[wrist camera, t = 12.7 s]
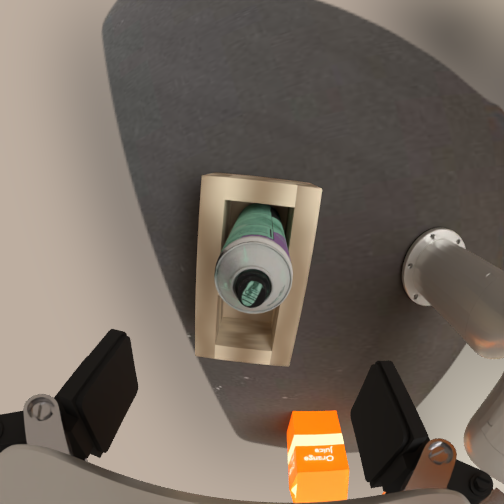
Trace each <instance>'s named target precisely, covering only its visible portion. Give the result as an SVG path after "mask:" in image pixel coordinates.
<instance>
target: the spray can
mask: <svg viewBox="0 0 504 504" xmlns="http://www.w3.org/2000/svg"><path fill="white" fill-rule="evenodd" d="M214 279H215V286H216V289H217V291H218V293H219V295H220V297H221V298H222V299H223V301H224V302H226V303H227V304H228V305H229V306H230V307H232V308H234V309H235V310H238V311H240V312H244V313H248V314H259V313H264V312H268V311H270V310H272V309H274V308H276V307H277V306H279V305H280V304H281V303H282V302H283V301H284V300H285V299H286V297H287V296H288V294H289V292H290V289H291V286H292V279H293V270H292V264H291V260H290V255H289V251H288V247H287V243H286V239H285V234H284V230H283V226H282V222H281V218H280V216H279V214H278V212H277V211H276V210H275V208H274V207H272V206H271V205H269V204H261V203H252V204H249V205H248V206H246V207H245V208H244V209H243V210H242V211H241V213H240V214H239V216H238V218H237V220H236V222H235V225H234V227H233V229H232V231H231V233H230V235H229V237H228V239H227V241H226V243H225V245H224V247H223V249H222V251H221V253H220V255H219V258H218V260H217V262H216V267H215V274H214Z"/></svg>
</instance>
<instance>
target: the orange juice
mask: <svg viewBox="0 0 504 504" xmlns="http://www.w3.org/2000/svg"><path fill="white" fill-rule="evenodd" d="M287 447H288V468H289V490H290V492H291V496H292V499H293V503H310V502H327V501H339V500H347V493H348V481H349V466H348V461H347V457H346V452H345V447H344V441H343V437H342V433H341V429H340V425H339V420H338V416H337V412H336V411H293V412H292V416H291V419H290V423H289V426H288V430H287Z"/></svg>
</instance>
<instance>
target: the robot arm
mask: <svg viewBox="0 0 504 504" xmlns="http://www.w3.org/2000/svg"><path fill="white" fill-rule="evenodd" d="M408 264H409V265H408ZM402 283H403V287H404V290H405V292H406V293H407V295H408V296H409V297H410V298H411V300H412V301H414V302H415V303H417V304H419V305H423V306H431V305H432V306H433V307H434V308H435V309H436V310H437V312H438V313H439V314H440V315H441V316H442V317H443V318H444V319H445V320H446V321H447V322H448V323H449V324H450V325H451V326H452V327H453V328H454V329H455V331H456V332H457V333H458V334H459V335H460V336H461V337H462V338H463V339H464V340H465V342H466V343H467V344H468V345H469V346H470V347H471V348H472V349H473V350H474V351H475V352H476V353H477V354H478V355H480V356H481V357H484V358H487V359H500V358H504V271H502V270H501V269H499V268H497V267H496V266H494V265H492V264H491V263H489V262H487V261H486V260H484V259H482V258H480V257H479V256H477V255H475V254H473V253H472V252H470V251H468V250H466V248H465V245H464V243H463V241H462V239H461V238H460V236H459V235H458V234H457V233H455V232H454V231H452V230H450V229H447V228H442V227H441V228H434V229H430V230H428V231H427V232H425V233H423V234H422V235H421V236H420V237H418V238H417V239H416V241H415V242H414V243H413V244H412V246H411V247H410V249H409V250H408V253H407V255H406V257H405V260H404V263H403V268H402ZM137 390H138V382H137V377H136V372H135V366H134V361H133V354H132V348H131V342H130V338H129V337H128V336H127V335H126V333H125V332H123V331H119V330H114V329H111V330H110V331H109V332H108V333H107V334H106V336H104V338H103V339H102V340H101V341H100V342H99V344H98V345H97V346H96V347H95V349H94V350H93V351H92V352H91V353H90V355H89V356H87V357H86V358H85V360H84V361H83V362H82V363H81V365H80V366H79V367H78V368H77V369H76V371H75V372H74V373H73V374H72V376H71V377H70V378H69V380H68V381H67V382H66V383H65V384H64V386H63V387H62V388H61V390H60V391H59V392H58V394H57V395H56V396H55V397H54V398H53V397H51V396H49V395H46V394H38V395H35V396H32V397H31V398H29V399H28V401H26V403H25V405H24V410H23V411H20V412H14V413H8V414H2V415H0V504H504V493H503V492H501V491H500V490H499V489H498V488H495V489H494V490H493V481H492V479H491V477H493V478H495V479H496V480H498V481H500V482H502V483H503V484H504V372H503V374H502V376H501V378H500V379H499V381H498V382H497V384H496V385H495V387H494V388H493V390H492V391H491V392H490V394H489V395H488V396H487V398H486V399H485V401H484V402H483V403H482V404H481V406H480V408H479V409H478V410H477V411H476V413H475V414H474V415H473V417H472V418H471V420H470V421H469V423H468V425H467V427H466V430H465V433H464V446H465V449H466V452H467V454H468V456H469V457H470V459H471V460H472V461H473V463H474V464H475V465H476V466H477V467H479V468H480V469H481V470H479V469H477V468H474V467H472V466H470V465H468V464H465V463H463V462H461V461H459V460H457V459H456V456H457V453H456V449H455V448H454V446H453V445H452V444H451V443H450V442H449V441H447V440H444V439H440V438H438V439H433V440H430V439H429V437H428V434H427V432H426V430H425V427H424V425H423V423H422V421H421V419H420V417H419V414H418V412H417V410H416V408H415V406H414V404H413V402H412V400H411V398H410V396H409V394H408V392H407V390H406V388H405V386H404V384H403V382H402V380H401V378H400V376H399V374H398V372H397V370H396V368H395V366H394V364H393V363H392V361H377V362H376V363H375V364H373V365H372V366H371V368H370V370H369V372H368V375H367V377H366V379H365V381H364V384H363V386H362V388H361V390H360V392H359V395H358V397H357V399H356V401H355V403H354V405H353V407H352V409H351V420H352V424H353V428H354V432H355V436H356V440H357V445H358V449H359V453H360V457H361V462H362V466H363V470H364V475H365V479H366V481H367V482H370V486H371V488H375V487H381V486H382V487H383V491H384V492H383V494H382V495H378V496H371V497H364V498H357V499H348V500H339V501H327V502H310V503H270V502H269V503H268V502H252V501H240V500H231V499H223V498H216V497H209V496H202V495H197V494H192V493H187V492H182V491H178V490H173V489H169V488H165V487H161V486H157V485H153V484H150V483H146V482H143V481H139V480H136V479H133V478H130V477H127V476H124V475H121V474H118V473H115V472H112V471H109V470H106V469H104V468H101V467H99V466H96V465H94V464H91V463H89V462H88V461H87V458H88V456H89V455H90V454H92V455H94V456H97V457H99V458H100V457H101V455H102V453H103V452H104V453H106V452H107V451H108V449H109V447H110V445H111V443H112V441H113V439H114V437H115V435H116V433H117V431H118V429H119V427H120V425H121V423H122V421H123V419H124V417H125V415H126V413H127V411H128V409H129V407H130V405H131V403H132V401H133V399H134V398H135V396H136V393H137ZM490 476H491V477H490Z"/></svg>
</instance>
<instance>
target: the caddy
mask: <svg viewBox="0 0 504 504" xmlns="http://www.w3.org/2000/svg"><path fill="white" fill-rule="evenodd" d="M321 194H322V188H319V187H317V186H315V185H313V184H311V183H306V182H299V181H292V180H284V179H276V178H267V177H258V176H249V175H239V174H228V173H216V172H215V173H211V174H206V175H202V182H201V195H200V210H199V226H198V245H197V268H196V304H195V356H200V357H207V358H214V359H221V360H228V361H237V362H245V363H255V364H265V365H277V366H289V364H290V360H291V356H292V351H293V347H294V342H295V338H296V333H297V329H298V324H299V319H300V315H301V310H302V305H303V300H304V295H305V290H306V285H307V279H308V274H309V268H310V263H311V257H312V252H313V246H314V240H315V234H316V227H317V221H318V215H319V208H320V201H321ZM252 203H261V204H269V205H271V206H272V207H274V208H275V210H276V211H277V212H278V214H279V216H280V218H281V222H282V226H283V230H284V234H285V239H286V243H287V247H288V251H289V255H290V260H291V264H292V270H293V279H292V286H291V289H290V292H289V294H288V296H287V297H286V299H285V300H284V301H283V302H282V303H281V304H280V305H279V306H277V307H276V308H274V309H272V310H270V311H268V312H264V313H259V314H248V313H244V312H240V311H238V310H235V309H234V308H232V307H230V306H229V305H228V304H227V303H226V302H224V301H223V299H222V298H221V297H220V295H219V293H218V291H217V289H216V286H215V279H214V274H215V267H216V262H217V260H218V258H219V255H220V253H221V251H222V249H223V247H224V245H225V243H226V241H227V239H228V237H229V235H230V233H231V231H232V229H233V227H234V225H235V222H236V220H237V218H238V216H239V214H240V213H241V211H242V210H243V209H244V208H245V207H246V206H248V205H249V204H252Z"/></svg>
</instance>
